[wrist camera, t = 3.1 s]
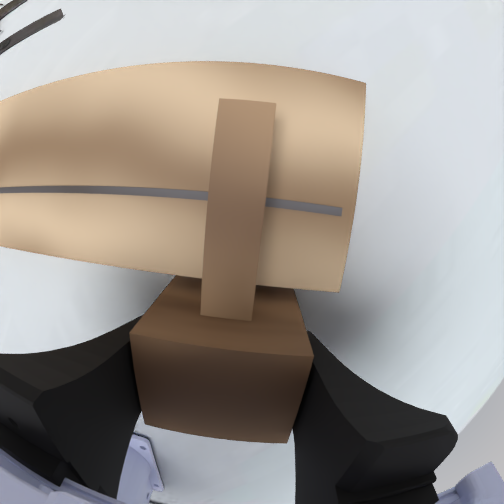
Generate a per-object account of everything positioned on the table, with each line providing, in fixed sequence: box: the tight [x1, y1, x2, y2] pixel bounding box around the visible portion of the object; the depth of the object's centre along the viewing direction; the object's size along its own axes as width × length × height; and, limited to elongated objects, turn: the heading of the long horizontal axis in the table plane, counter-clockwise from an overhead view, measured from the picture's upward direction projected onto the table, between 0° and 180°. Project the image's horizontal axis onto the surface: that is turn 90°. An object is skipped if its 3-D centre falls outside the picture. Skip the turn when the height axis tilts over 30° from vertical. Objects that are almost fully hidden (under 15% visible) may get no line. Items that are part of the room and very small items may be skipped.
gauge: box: [129, 98, 314, 443], centre depth 9 cm, size 10×5×5 cm, turn 174°
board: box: [0, 61, 366, 292], centre depth 10 cm, size 8×22×2 cm, turn 84°
